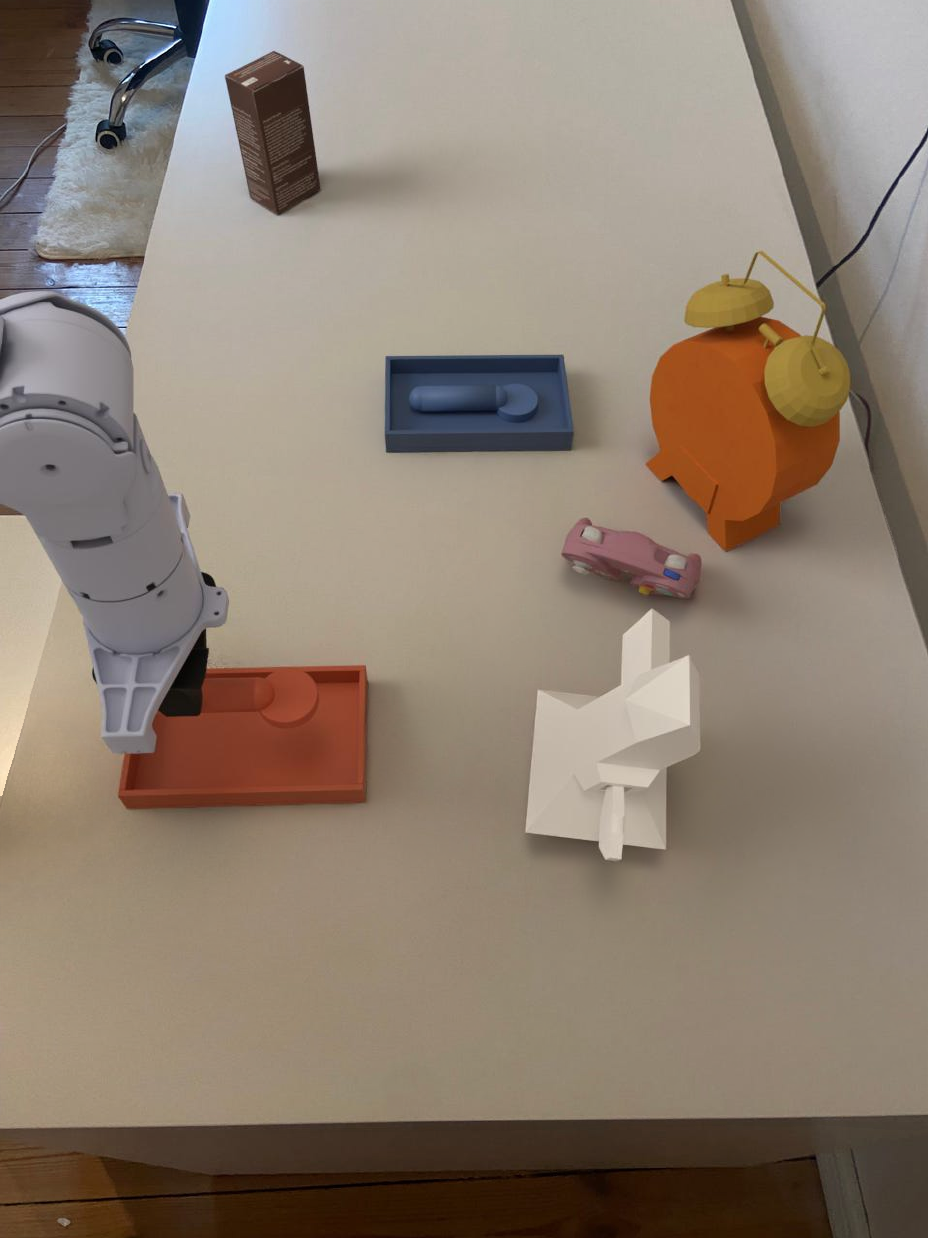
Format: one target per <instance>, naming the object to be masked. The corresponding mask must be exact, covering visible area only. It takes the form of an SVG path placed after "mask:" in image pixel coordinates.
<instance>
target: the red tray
mask: <svg viewBox="0 0 928 1238" xmlns="http://www.w3.org/2000/svg"><path fill="white" fill-rule="evenodd" d="M282 669H297V670H300V671H303V672H305V673H307V674H308V675H309V676H310V677H311V678H312V679H313V680H314V681H315V683H316V686H317V689H318V694H319V705H318V708H317V711H316V712H315V714H314V715H313V717H312V718H311V719H310V720H309V721H307V722H306V723H305V724H303V725H301V726H299V727H295V728H291V729H282V728H277V727H274V726H272V725H270V724H268V723H267V722H266V721H265V720H264V719H263V718H262V716H261V714H260V712H222V713H201V714H200V715H199V716H181V717H166V716H165V715H163V714H156V715H155V717H154V720H153V722H152V728H153V730H154V732H155V734H156V737H157V738H156V745H155V751H154V752H153V753H140V754H123V755H124V756H123V760H122V767H121V768H122V769H121V772H120V773H121V774H120V779H119V785H118V791H117V798H119V800H120V802H121V803H122V804H123V805H124V807H125V808H126V809H127V810H135V809H136V810H138V809H172V808H173V809H174V808H209V807H215V808H216V807H249V806H251V807H252V806H283V805H285V806H286V805H287V806H289V805H320V804H323V805H326V804H356V803H358V804H359V803H361V804H362V803H366V791H367V787H366V786H367V785H366V784H367V741H368V739H367V738H368V737H367V736H368V735H367V734H368V733H367V732H368V731H367V730H368V690H369V689H368V688H369V687H368V685H369V684H368V682H369V681H368V673H367V672H368V671H367V665H366V664H360V665H359V664H358V665H353V664H352V665H313V666H311V665H309V666H307V665H306V666H305V665H304V666H264V667H263V666H262V667H261V666H260V667H258V666H257V667H218V668H217V667H216V668H211V667H210V668H208V667H207V669H206V675H205V678H253V677H257V678H263V679H265V678H266V677H267V676H269V675H270V674H272V673H273V672H276V671H278V670H282Z"/></svg>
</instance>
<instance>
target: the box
mask: <svg viewBox="0 0 928 1238" xmlns="http://www.w3.org/2000/svg"><path fill="white" fill-rule="evenodd" d="M224 80H225V84H226V88H227V94H228V97H229V101H230V102H229V103H230V108H231V112H232V117H233V121H234V122H233V123H234V126H235V130H236V136H237V141H238V145H239V150H240V156H241V160H242V165H243V169H244V175H245V179H246V183H247V189H248V193H249V198H250V199H252V200H253V201H254V202H256V203H258V204H259V205H260V206H261V207H263V208H265V209H266V210H269V211H270V212H271V213H273V214H275V215H279V214H280V213H282V212H284V211H285V210H287V209H288V208H289V209H290V207H292V206H294V205H295V204H297V203H299V202H300V201H302V200H304V199H306V198H307V197H309V196H311V195H312V194H314V193H316V192H318V191H320V190H321V183H320V182H321V181H320V176H319V175H320V174H319V168H318V160H317V153H316V146H315V140H314V133H313V132H314V131H313V124H312V117H311V110H310V104H309V96H308V88H307V79H306V73H305V66H304V65H303V64H301V63H299V62H297V61H295V60H294V59H291V58H289V57H287V56H286V55H284V54H282V53H279V52H278V51H275V50H272V51H270V52H269V53H266V54H265V55H263V56H260V57H259V58H257V59H254V60H253V61H250V62H249V63H247V64H244V65H243V66H241V67H239V68H236V69H234V70H233V71H230V72H228V73H226V74H224Z"/></svg>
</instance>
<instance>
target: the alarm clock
mask: <svg viewBox="0 0 928 1238" xmlns="http://www.w3.org/2000/svg"><path fill="white" fill-rule="evenodd" d="M758 255H760V256H762V258H764V259H765V260H766V261H767V262H769V263H770V264H771V265H772V266H773V267H774V268H776V269H777V270H778V271H779V272H780V273H782V274H783V275H784V276H785V277H786V278H787V279H789V280H790V281H791V282H792V283H793V284H795V286H797V287H798V288H799V289H800V290H801V291H803V292H804V293H805V294H806V295H807V296H809V297H810V298H811V299H812V300H813V301H815V302H816V303H817V304H818V305H819V306H820V308H821V312H820V315H819V318H818V321H817V324H816V326H815V330H814V333H813V335H808V334H807V335H802V334H800V333H799V332H797V331H796V330H794V329H793V328H791V327H790V326H788V325H787V324H785V323H783V322H782V321H780V320H779V319H774V318H771V317H764V316H765V315H767V314H769V313H770V312H771V311H772V310H773V309H774V307H775V302H774V299H773V296H772V293H771V291H770V289H769V288H768V287H767V286H766V285H765V284H764V283H762V282H761V281H760V280H756V279H751V278H750V275H751V273H752V271H753V268H754V266H755V263H756V261H757V259H758ZM720 278H721V279H720V280H718V281H715V282H712V283H710V284H707V285H705V286H703V287H702V288H700V289H698V290H695V292H694V293H693V294H691V296H690V298H689V300H688V301H687V303H686V305H685V312H684V320H683V321H684V323H685V324H686V325H687V326H690V327H693V328H701V329H706V330H705V331H703V332H700V333H698V334H695V335H693V336H690V337H688V338H686V339H683V340H681V341H679V342H676V343H674V344H672V346H670V347H669V348H668V349H667V350H666V351H665V352H664V353H663V354H662V355H660V357H659V359H658V361H657V363H656V366H655V368H654V371H653V373H652V375H651V384H650V392H649V405H650V414H651V424H652V428H653V431H654V435H655V439H656V442H657V445H658V448H659V451H658V452H657V453H656V454H654V456H652V457H651V458H650V459H649V460H648V461H647V462H646V463H645V465H646V467H647V468H648V469H649V470H650V471H651V472H652V473H653V474H654V475H655V476H656V478H657V479H658V480H659V481H660V482H663V481H665V480H668V479H669V478H671V477H673V478H674V480H676V482H677V483H678V484H679V486H680V488H682V489H683V491H684V492H685V494H686V495H687V496H688V497H689V498H690V499H691V500H692V501H694V502H695V503H696V504H697V505H698V506H699V507H700V508H701V509H702V510H703V511H704V512H705V517H706V526H707V533H708V535H709V536H710V537H711V539H713V540H714V541H715V543H717V544H718V545H719V547H720V548H721V549H722V550H723V551H724V552H726V553H727V552H728V551H730V550H733V549H735V548H737V547H738V546H741V545H742V544H744V543H747V542H749V541H751V540H752V539H754V538H757V537H758V536H759V535H762V534H764V533H766V532H768V531H770V530H773V529H774V528H776V527H778V526H780V525H781V503H783V502H785V501H787V500H788V499H791V498H793V497H795V496H796V495H798V494H801V493H803V492H804V491H805V492H806V491H807V490H809V489H811V488H813V487H815V486H817V485H818V484H819V483H820V482H821V480H822V479H823V478H824V476H825V475H826V474H827V472H829V470H830V469H831V467H832V465H833V464H834V461H835V457H836V455H837V452H838V447H839V444H840V441H841V412H840V411H841V410H842V409H843V408H844V405H846V402H847V401H848V398H849V395H850V390H851V371H850V369H849V365H848V362H847V360H846V358H845V357H844V355H843V354H842V352H841V351H840V350H839V349H838V348H837V347H835V345H834V344H832V343H831V342H829V341H827V340H825V339H824V338H822V337H819V336H818V334H819V331H820V328H821V325H822V322H823V319H824V317H825V314H826V311H827V306H826V304H825V302H823V301H822V300H821V299H820V298H819V297H817V296H816V295H815V294H814V293H813V292H812V291H810V290H809V289H808V288H807V287H806V286H805V285H803V284H802V283H801V282H800V281H799V280H798V279H796V278H795V277H794V276H793V275H791V274H790V273H789V272H788V271H787V270H786V269H784V268H783V267H782V266H781V265H780V264H778V263H777V262H776V260H774V259H773V258H772V257H770V256H769V255H768V254H766V252H764V251H763V250H759V251H756V252H755V253H754V254H753V257H752V259H751V262H750V264H749V267H748V269H747V272H746V275H745V277H744V278H743V277H737V278H730V274H729V273H723V274H721V275H720Z"/></svg>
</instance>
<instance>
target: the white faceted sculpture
mask: <svg viewBox="0 0 928 1238" xmlns="http://www.w3.org/2000/svg"><path fill="white" fill-rule="evenodd" d="M670 626H671V621H670V620H669V619H668V618H666V617H665V616H663V614H660V613H659V612H658V611H657V610H655V609H654V608H651V609H650V610H648V611H647V612H646V613H645V614H644V615H643V616H642V617H640V619H638V621H636V623H634V624H633V625H632V626H631V627H629V629H628V630H627V631H625V632H624V633H623V634H622V644H621V645H622V646H621V647H622V649H621V673H620V675H621V676H620V677H621V678H620V685H618V686H616V687H614V688H613V689H611V690H609V691H607V692H606V693H605V694H604V693H603V694H602V695H601V696H597V695H591V694H590V695H589V694H582V693H581V694H580V693H571V692H562V691H555V690H546V689H537V694H536V706H535V717H534V726H533V727H534V728H533V739H532V750H531V763H530V774H529V785H528V796H527V797H528V798H527V807H526V808H527V810H526V820H525V834H526V833H527V834H534V835H543V836H551V837H559V838H569V839H575V840H584V841H590V842H591V841H592V842H593V841H594V842H598V848H599V851H600V853H601V854H602V856H603V858H604V860H607V861H612V862H613V861H614V862H618V861H620V860H622V855H623V848H624V847H623V846H631V847H633V846H634V847H642V848H649V849H658V850H667V768H668V767H671V766H673V765H675V764H677V763H680V762H682V761H684V760H686V759H688V758H691V757H693V756H695V755H696V754H698V752H700V751H701V713H700V712H701V704H700V703H701V702H700V701H701V699H700V696H701V695H700V694H701V693H700V674H699V672H698V670H697V668H696V666H695V664H694V661H693V659H692V658H691V656H690V654H688V655H685V656H683V657H680V658H678V659H676V660H675V659H674V660H673V661H671V659H670V658H671V657H670V655H671V654H670V652H671V648H670V647H671V645H670V643H671V639H670V638H671V635H670V634H671V633H670V632H671V627H670Z"/></svg>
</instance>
